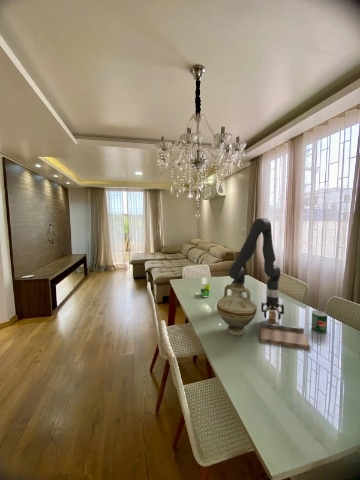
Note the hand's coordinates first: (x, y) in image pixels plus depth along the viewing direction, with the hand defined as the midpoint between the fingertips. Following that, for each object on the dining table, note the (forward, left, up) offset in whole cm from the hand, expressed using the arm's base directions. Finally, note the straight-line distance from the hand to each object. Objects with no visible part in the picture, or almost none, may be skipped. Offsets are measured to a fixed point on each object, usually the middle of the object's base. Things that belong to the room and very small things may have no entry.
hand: (272, 318), depth 142 cm
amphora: (-22, -20, -2) cm, 30 cm away
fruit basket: (-54, +36, -2) cm, 65 cm away
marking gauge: (0, -3, -2) cm, 4 cm away
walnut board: (+4, -20, -2) cm, 20 cm away
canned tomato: (+26, -5, -2) cm, 27 cm away
